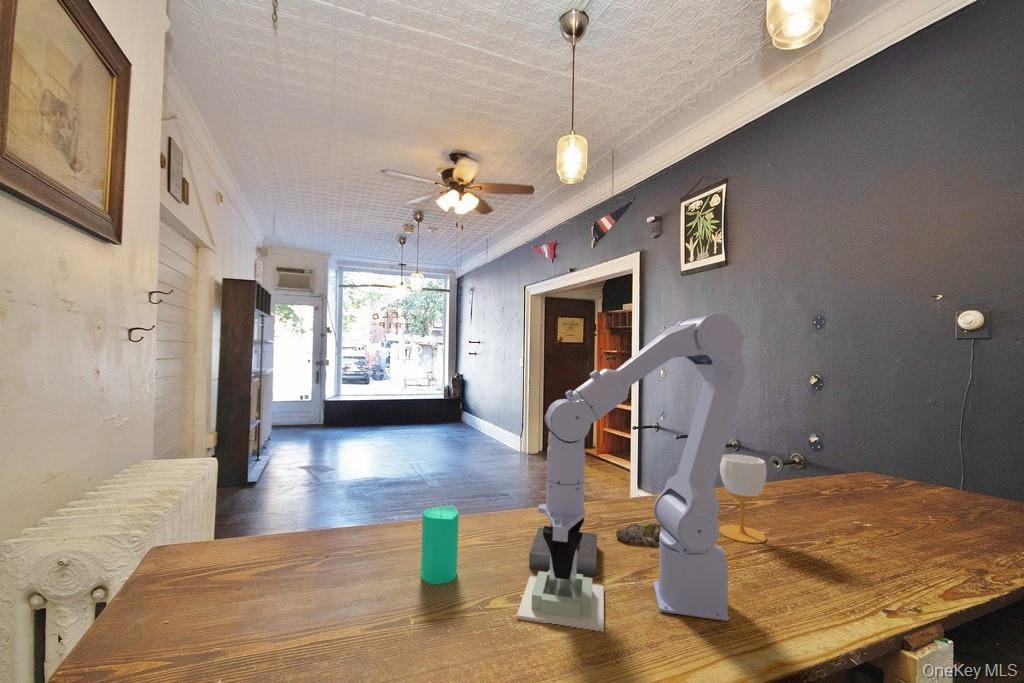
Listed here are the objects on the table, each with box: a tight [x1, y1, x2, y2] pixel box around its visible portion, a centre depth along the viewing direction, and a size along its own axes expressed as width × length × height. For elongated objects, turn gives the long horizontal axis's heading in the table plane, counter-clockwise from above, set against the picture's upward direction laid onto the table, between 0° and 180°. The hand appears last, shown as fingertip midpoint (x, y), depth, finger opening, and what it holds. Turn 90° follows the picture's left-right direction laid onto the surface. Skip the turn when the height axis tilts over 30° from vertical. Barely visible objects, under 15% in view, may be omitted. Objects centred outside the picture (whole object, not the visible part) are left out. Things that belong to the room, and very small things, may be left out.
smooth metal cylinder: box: [549, 549, 577, 598], centre depth 65 cm, size 4×4×8 cm
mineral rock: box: [615, 521, 661, 547], centre depth 89 cm, size 11×4×8 cm
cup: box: [719, 453, 768, 544], centre depth 92 cm, size 9×9×16 cm
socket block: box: [528, 527, 598, 577], centre depth 80 cm, size 12×12×2 cm
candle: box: [420, 502, 460, 585], centre depth 72 cm, size 6×6×12 cm
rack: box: [516, 570, 605, 633], centre depth 65 cm, size 12×11×2 cm
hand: (563, 570), depth 65 cm, fingers closed on smooth metal cylinder, 4 cm apart
